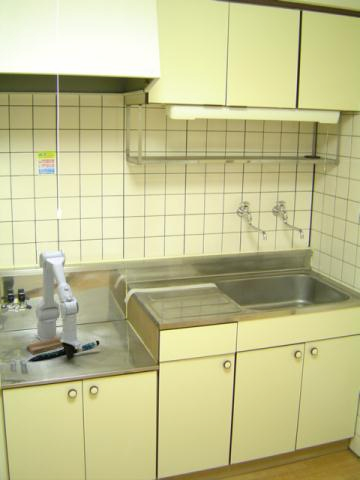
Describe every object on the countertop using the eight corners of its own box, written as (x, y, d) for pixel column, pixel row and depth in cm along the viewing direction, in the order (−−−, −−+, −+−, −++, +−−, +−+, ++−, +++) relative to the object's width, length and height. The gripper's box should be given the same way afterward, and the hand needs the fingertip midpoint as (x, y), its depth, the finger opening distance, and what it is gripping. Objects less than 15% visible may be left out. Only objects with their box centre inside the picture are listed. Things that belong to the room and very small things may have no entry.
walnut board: (26, 349, 236) (26, 344, 236) (67, 338, 249) (67, 334, 248) (33, 354, 231) (33, 350, 231) (75, 343, 244) (75, 339, 243)
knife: (99, 348, 237) (98, 339, 236) (101, 351, 234) (100, 341, 233) (28, 364, 227) (27, 354, 226) (29, 367, 224) (27, 357, 223)
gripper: (52, 325, 226) (53, 354, 230) (69, 336, 216) (69, 367, 219) (68, 321, 231) (68, 350, 234) (84, 332, 220) (84, 363, 223)
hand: (69, 358), depth 227 cm, fingers closed
